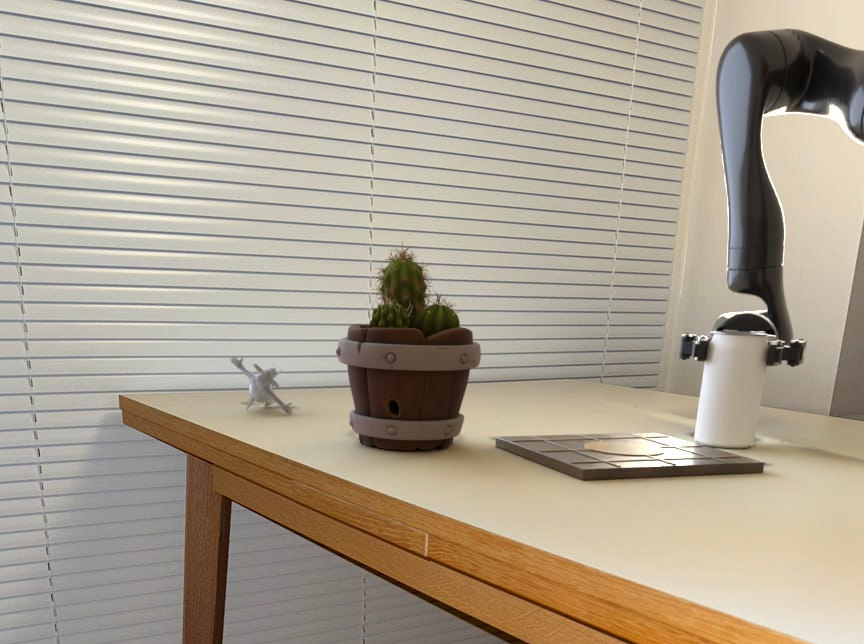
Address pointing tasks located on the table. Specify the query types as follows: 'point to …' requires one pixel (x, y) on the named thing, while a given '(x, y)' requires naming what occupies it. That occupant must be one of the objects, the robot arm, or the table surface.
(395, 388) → the flowerpot
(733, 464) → the board
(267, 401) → the spiky grey figurine
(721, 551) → the table surface
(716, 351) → the can
